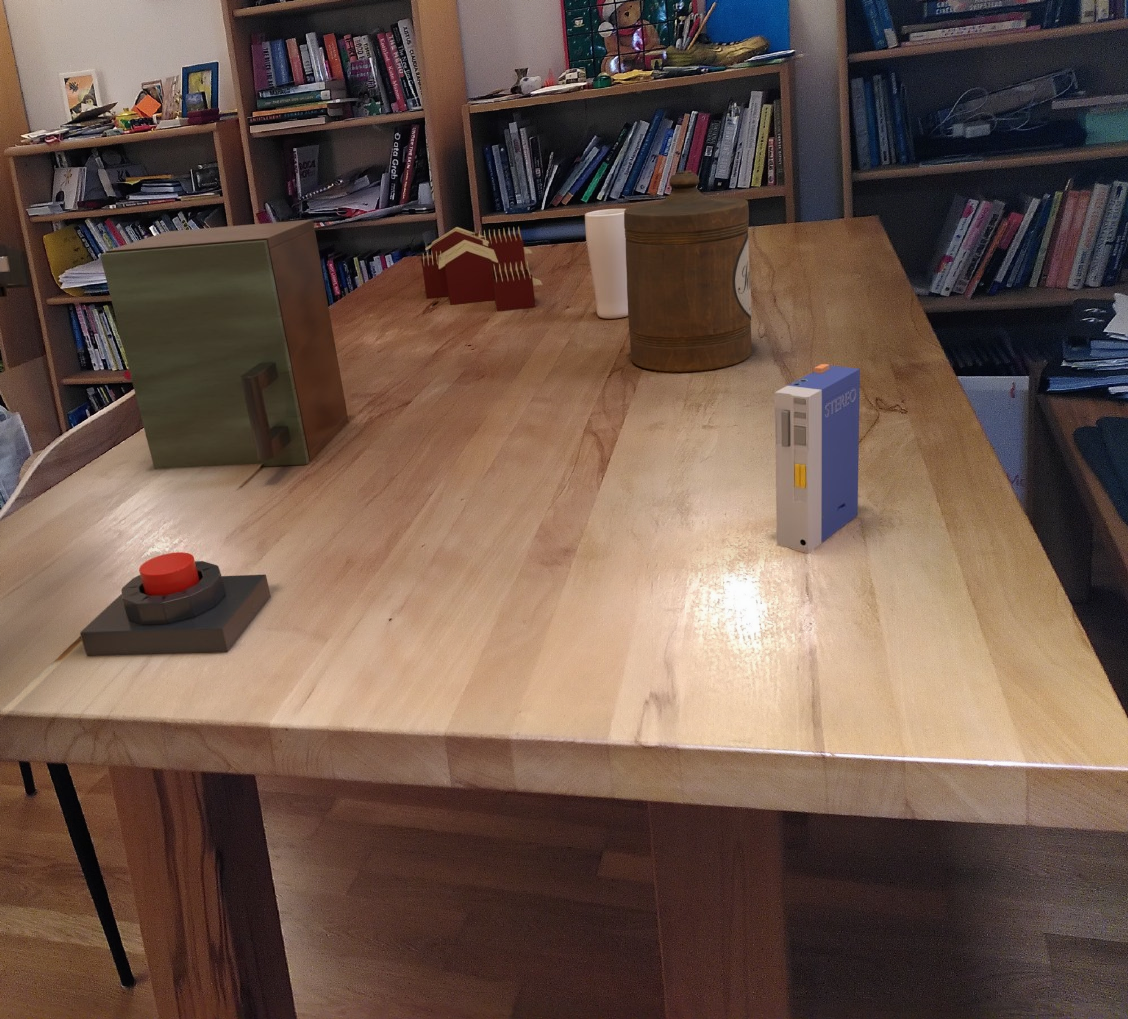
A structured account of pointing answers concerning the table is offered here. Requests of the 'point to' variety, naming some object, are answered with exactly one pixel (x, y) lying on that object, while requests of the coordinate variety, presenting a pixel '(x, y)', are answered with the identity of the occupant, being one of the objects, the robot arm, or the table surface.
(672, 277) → the wooden container
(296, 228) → the cupboard
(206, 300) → the cupboard door
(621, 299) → the drinking glass
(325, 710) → the table surface
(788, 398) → the walkman
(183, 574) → the red button
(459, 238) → the toy houses
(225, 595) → the button block
